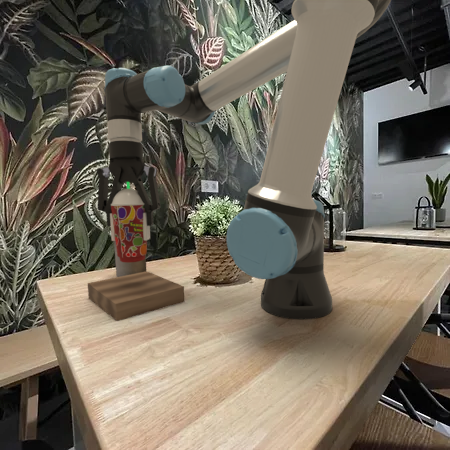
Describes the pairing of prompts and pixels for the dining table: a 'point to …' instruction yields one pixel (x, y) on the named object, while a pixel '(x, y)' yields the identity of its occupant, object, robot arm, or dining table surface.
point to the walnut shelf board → (134, 294)
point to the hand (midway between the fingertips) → (131, 239)
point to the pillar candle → (128, 266)
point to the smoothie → (129, 225)
